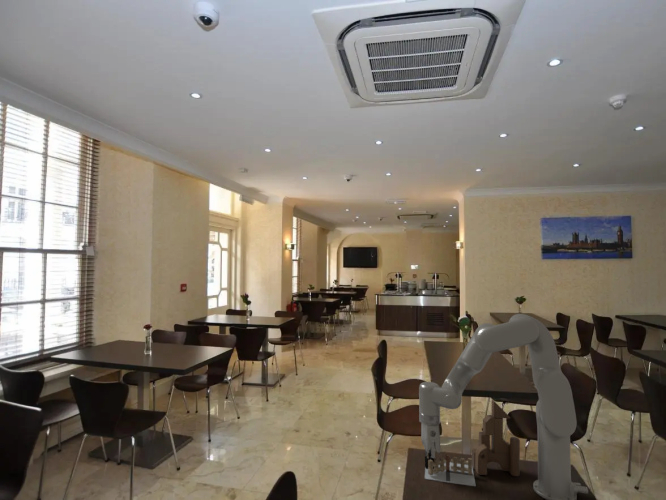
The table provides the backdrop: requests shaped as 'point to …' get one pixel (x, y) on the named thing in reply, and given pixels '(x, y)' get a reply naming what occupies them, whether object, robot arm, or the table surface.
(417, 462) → the table surface
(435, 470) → the beige stepped wooden piece
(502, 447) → the wooden toy
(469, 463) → the fence fixed
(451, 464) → the card
